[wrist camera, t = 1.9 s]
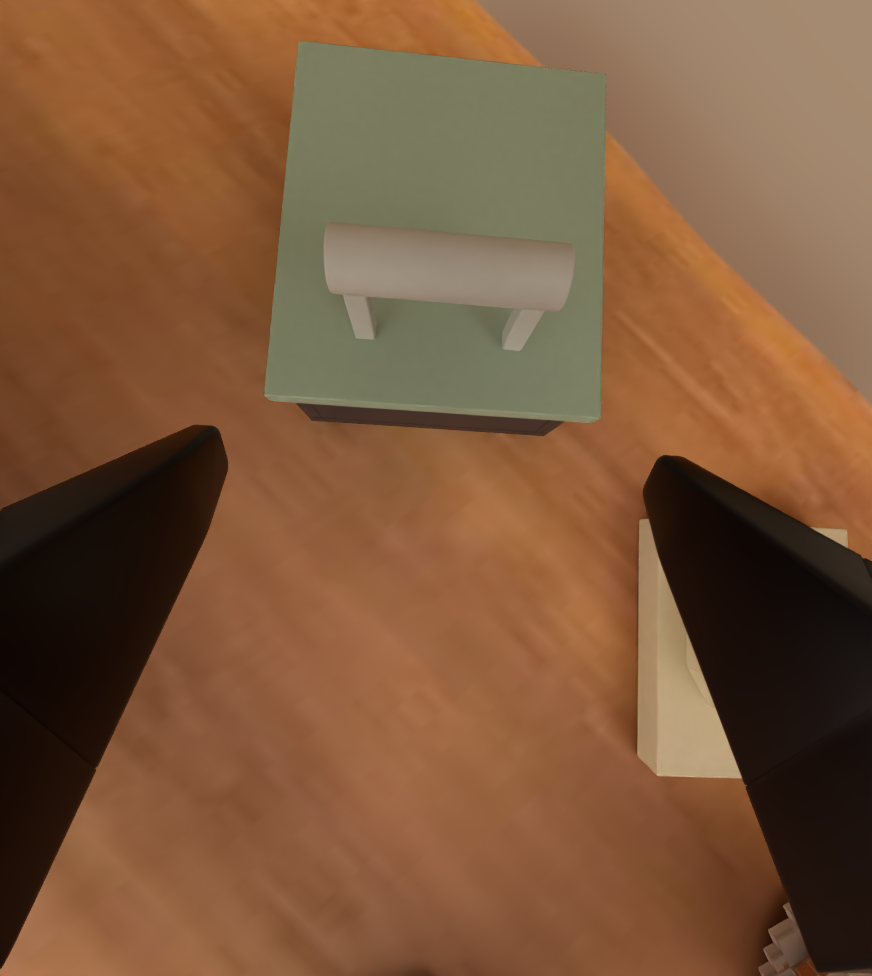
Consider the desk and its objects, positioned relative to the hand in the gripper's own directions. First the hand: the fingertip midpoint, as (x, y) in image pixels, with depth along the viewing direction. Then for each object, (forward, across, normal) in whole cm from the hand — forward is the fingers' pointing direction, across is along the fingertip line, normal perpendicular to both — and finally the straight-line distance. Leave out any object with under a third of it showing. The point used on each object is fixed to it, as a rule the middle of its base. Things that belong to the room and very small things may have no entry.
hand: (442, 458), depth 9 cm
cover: (+11, 0, -2) cm, 11 cm away
